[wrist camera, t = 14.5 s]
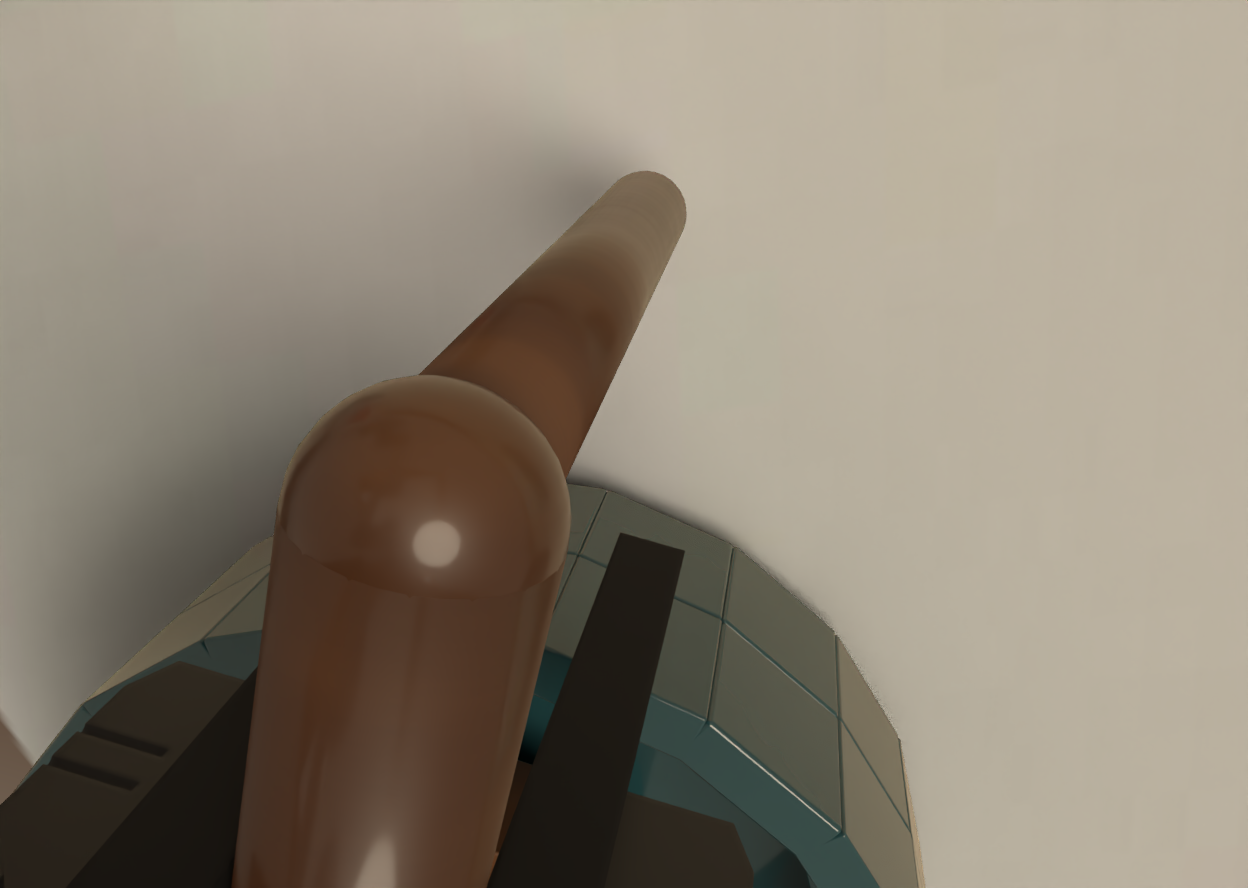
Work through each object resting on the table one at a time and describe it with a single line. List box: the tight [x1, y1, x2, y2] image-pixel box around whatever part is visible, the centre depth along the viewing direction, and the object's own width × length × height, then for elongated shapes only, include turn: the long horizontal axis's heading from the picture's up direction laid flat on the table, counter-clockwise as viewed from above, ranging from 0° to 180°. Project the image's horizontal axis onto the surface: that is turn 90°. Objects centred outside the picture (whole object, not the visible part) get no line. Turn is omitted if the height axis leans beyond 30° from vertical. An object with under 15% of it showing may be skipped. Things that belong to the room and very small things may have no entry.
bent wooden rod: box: [231, 171, 686, 888], centre depth 14 cm, size 16×5×12 cm, turn 167°
